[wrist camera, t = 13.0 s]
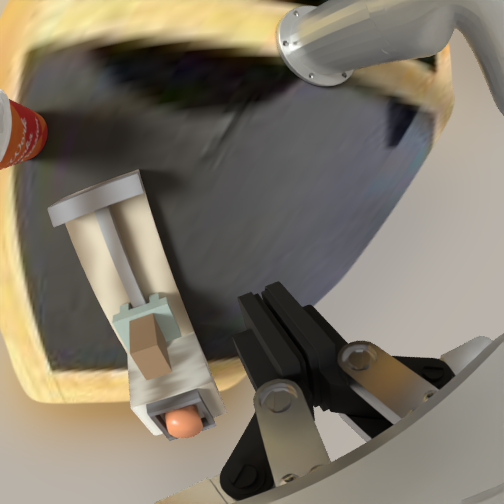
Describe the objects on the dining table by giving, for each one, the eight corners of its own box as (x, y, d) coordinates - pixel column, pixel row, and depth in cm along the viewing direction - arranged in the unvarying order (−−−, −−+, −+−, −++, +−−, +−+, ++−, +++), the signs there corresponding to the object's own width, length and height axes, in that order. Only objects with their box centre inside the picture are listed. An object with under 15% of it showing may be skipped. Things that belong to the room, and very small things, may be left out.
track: (138, 169, 30) (135, 181, 19) (205, 356, 42) (231, 421, 31) (61, 199, 28) (19, 229, 17) (145, 377, 40) (156, 444, 29)
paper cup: (25, 182, 25) (-35, 207, 13) (-8, 139, 22) (-74, 143, 9) (68, 132, 26) (23, 125, 14) (35, 90, 22) (-20, 63, 10)
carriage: (164, 290, 35) (174, 334, 26) (177, 322, 37) (191, 369, 28) (113, 308, 33) (110, 355, 25) (129, 338, 35) (131, 388, 27)
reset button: (191, 398, 29) (195, 414, 27) (202, 416, 31) (207, 431, 29) (158, 408, 28) (161, 424, 26) (172, 426, 30) (176, 441, 28)
